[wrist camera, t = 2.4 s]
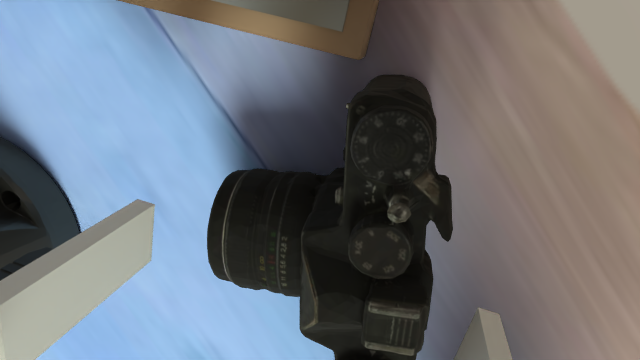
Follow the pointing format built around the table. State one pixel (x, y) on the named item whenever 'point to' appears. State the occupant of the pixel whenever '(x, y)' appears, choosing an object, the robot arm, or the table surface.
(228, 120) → the table surface
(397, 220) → the camera
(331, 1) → the stand
